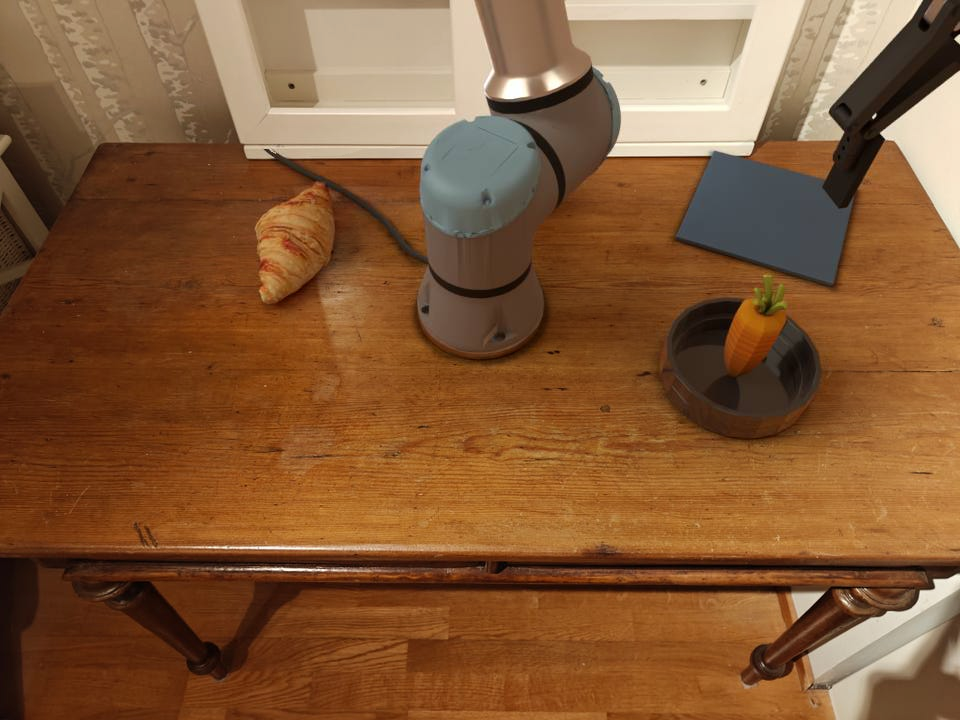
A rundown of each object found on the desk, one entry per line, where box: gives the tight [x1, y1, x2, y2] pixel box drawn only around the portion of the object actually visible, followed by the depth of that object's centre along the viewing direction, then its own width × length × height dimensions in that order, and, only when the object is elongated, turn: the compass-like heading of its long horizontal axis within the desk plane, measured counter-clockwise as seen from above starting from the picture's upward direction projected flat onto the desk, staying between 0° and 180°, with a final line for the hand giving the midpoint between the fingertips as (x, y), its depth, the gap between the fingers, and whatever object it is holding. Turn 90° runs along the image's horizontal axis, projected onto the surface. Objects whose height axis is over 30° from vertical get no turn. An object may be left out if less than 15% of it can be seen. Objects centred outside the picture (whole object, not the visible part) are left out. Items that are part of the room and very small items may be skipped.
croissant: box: [254, 181, 336, 305], centre depth 89 cm, size 21×10×8 cm, turn 170°
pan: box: [658, 296, 823, 440], centre depth 77 cm, size 16×16×4 cm
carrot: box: [724, 273, 789, 377], centre depth 73 cm, size 5×5×15 cm
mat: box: [675, 150, 856, 288], centre depth 95 cm, size 20×20×1 cm
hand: (908, 185), depth 58 cm, fingers open, 13 cm apart
